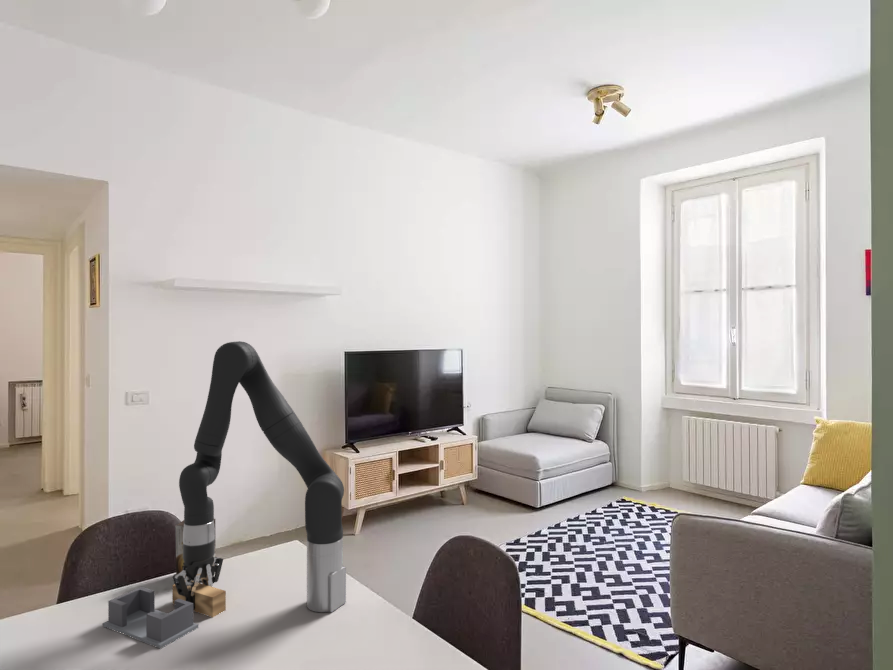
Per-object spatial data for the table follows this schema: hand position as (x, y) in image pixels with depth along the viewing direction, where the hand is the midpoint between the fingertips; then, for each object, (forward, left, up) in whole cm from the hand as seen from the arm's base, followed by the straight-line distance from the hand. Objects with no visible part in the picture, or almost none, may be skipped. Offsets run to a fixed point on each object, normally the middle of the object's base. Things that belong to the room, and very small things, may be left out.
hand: (198, 605), depth 142 cm
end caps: (+2, +12, -1) cm, 12 cm away
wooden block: (0, 0, -1) cm, 1 cm away
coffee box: (+16, -12, -1) cm, 20 cm away
